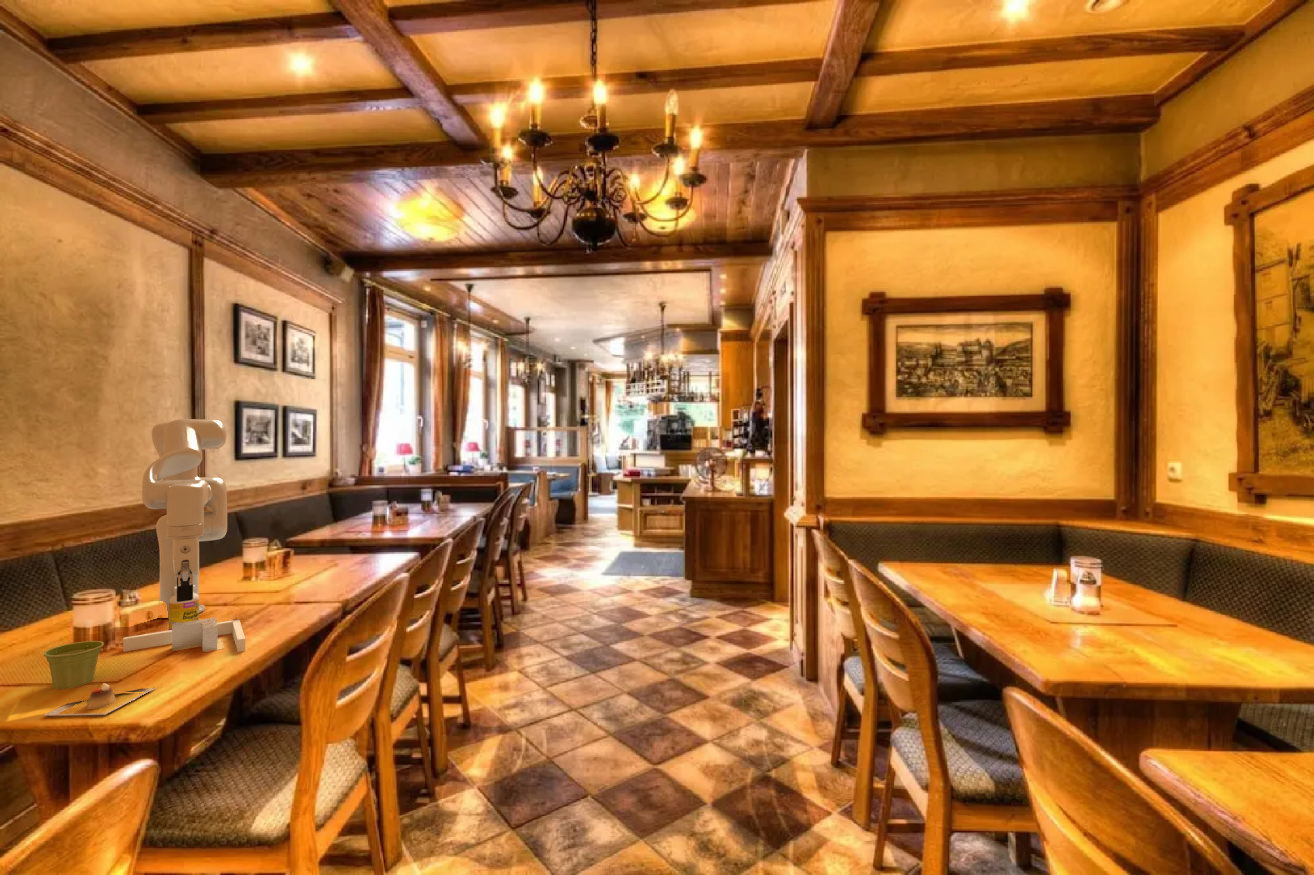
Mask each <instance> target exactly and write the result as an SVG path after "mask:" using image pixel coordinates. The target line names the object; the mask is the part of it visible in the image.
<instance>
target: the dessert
mask: <svg viewBox="0 0 1314 875" xmlns="http://www.w3.org/2000/svg"><path fill="white" fill-rule="evenodd" d="M154 690H155V688H153V687H152V688H149V687H148V688H138V689H133V690H127V691H126V692H145V693H140V694H139V695H138V696H136V697H133V698H132V699H130V700H128V701H126V702H124V703H123V704H121V705H119V706H117V707H115V708H113V709H111V710H108V711H107V712H105V713H104V712H102V713H64V714H63V713H62V712H64V710H65V711H67V710H70V709H71V708H73V707H75V706H76V705H75V704H77V705H79V704H81V703H83V702H85V701H84V700H85V699H83V700H79V701H73V702H69V703H66V704H63V705H62V706H61V705H60V707H57V708H55V709H52V710H51V711H49V712H46V713H44V714H42V716H43V717H92V716H93V717H94V716H95V717H96V716H99V717H100V716H107V715H109V714H111V713H113V712H114V711H116V710H118V709H120V708H122V707H123V706H125V704H126V705H128V704H129V702H130V703H131V701H132V702H134V701H135V700H137V699H139V698H140V696H141V697H143V696H145V695H146V693H147V694H149V693H150V692H152V691H154ZM148 692H149V693H148ZM144 694H145V695H144ZM142 695H143V696H142ZM82 701H83V702H82ZM87 701H88V702H87V704H86V709H87V710H88V709H89V710H94V709H95V710H96V709H101V708H105V707H108V706H111V705H114V704H115V703H116V702H117V698H116V697H115V694H114V692H113V688H112V687H110V685H109V684H107V683H104V682H103V683H102V684H101V687H100V685H98V686H97V688H95V689H93V691H91V693H90V695H89V699H88V700H87ZM115 701H116V702H115ZM114 702H115V703H114ZM110 704H111V705H110ZM74 705H75V706H74ZM107 705H108V706H107ZM66 709H67V710H66ZM108 713H109V714H108Z"/></svg>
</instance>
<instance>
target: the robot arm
mask: <svg viewBox="0 0 1314 875" xmlns="http://www.w3.org/2000/svg"><path fill="white" fill-rule="evenodd" d="M151 439H152V440H151V441H152V444H153V446H154V448H155V451H156V453H157V454H158V456H159V458H157V459H155V461H153V462H152V463H151V464H149V465H148V467H147V468H146V469H145V470H144V473H143V476H142V480H141V483H142V484H141V499H142V503H143V505H144V506H145V507H146V508H148V509H152V510H163V509H164V510H165V509H166V514H165V515H163V516H160V518H158V520H157V521H156V528H155V529H156V536H157V540H158V547H159V548H158V550H159V602H160V601H163V602H165V603H166V605H167V611H168V619H167V620H169V600H170V598H171V597H172V596H174V595H175V593H174V587H176V586H177V602H182V601H189V600H192V599H193V585H195V590H194V593H196V594H198V595H199V596H200V542H208V541H209V542H210V541H216V540H221V539H223V538H225V536H226V535H227V532H228V493H227V492H228V490H227V485H226V482H225V481H224V480H223V478H220V477H216V476H205V477H200V476H198V467H199V465H200V464H201V462H202V461H203V450H219V449H220V448H222V447H224V445H225V444H226V441H227V430H226V427H225V425H224V423H223V422H222V421H220V420H217V419H202V418H201V419H199V418H197V419H196V418H194V419H193V418H180V419H174V420H171V421H169V422H161V423H157V424H154V426H153V427H152V430H151ZM205 508H208V509H209V510H205ZM205 610H206V607H205V605H204V604H202V603H201V604H200V603H199V614H201V613H202V612H204V611H205Z"/></svg>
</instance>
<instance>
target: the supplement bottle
mask: <svg viewBox="0 0 1314 875" xmlns="http://www.w3.org/2000/svg"><path fill="white" fill-rule="evenodd" d="M194 590H195V585H193V599H192V600H189V601H182V602H177V586H176V587H174V593H175V595H174V596H172V597H171V598H170V600H169V619H168V630H172V624H177V623H183V622H190V621H196V620H200V617H199V616H200V613H199V604H200V594H199V595H198V594H196V593H194Z"/></svg>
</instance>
